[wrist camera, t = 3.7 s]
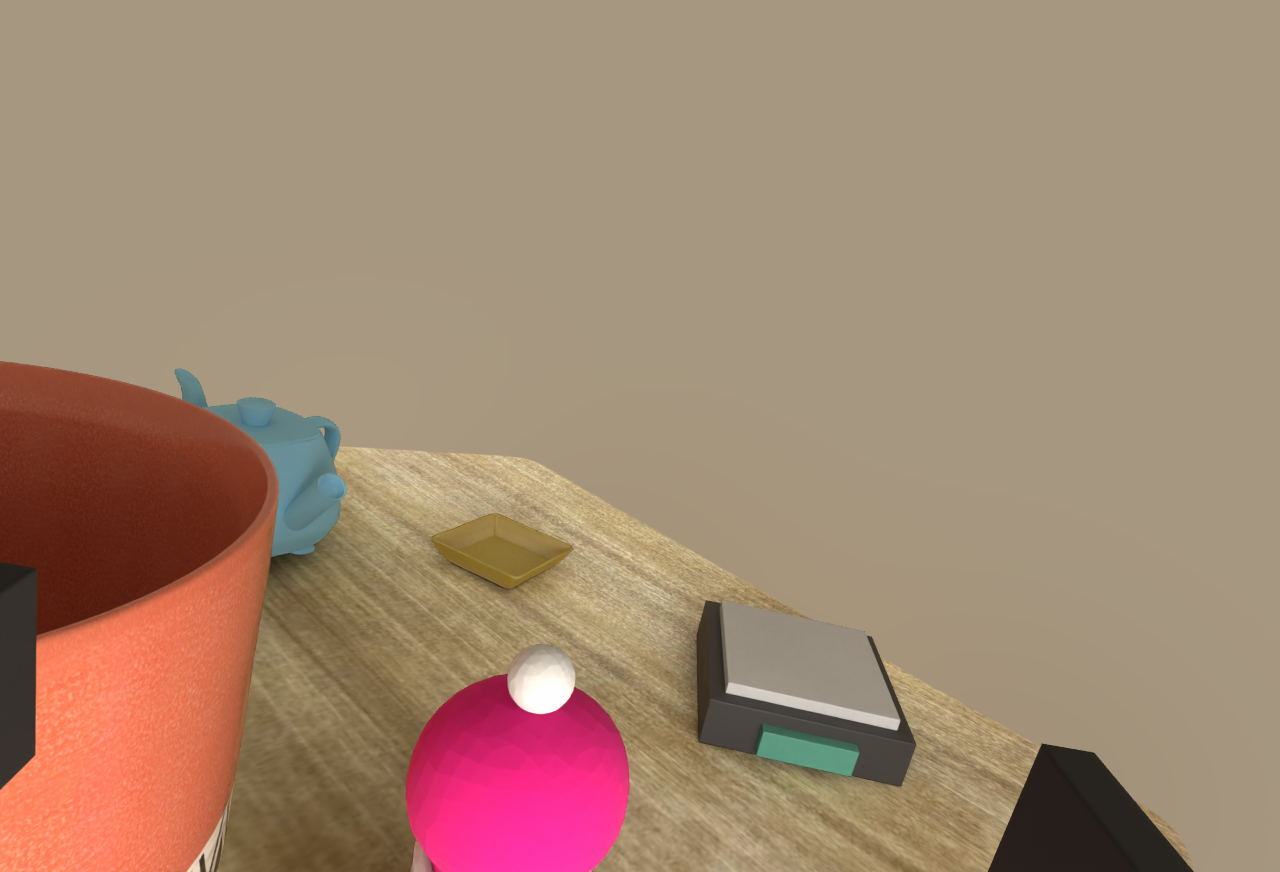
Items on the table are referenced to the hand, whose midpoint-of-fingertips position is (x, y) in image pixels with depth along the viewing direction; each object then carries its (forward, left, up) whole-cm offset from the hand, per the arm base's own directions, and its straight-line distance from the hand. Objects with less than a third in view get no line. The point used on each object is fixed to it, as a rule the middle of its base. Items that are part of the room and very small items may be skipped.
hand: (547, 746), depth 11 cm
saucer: (+53, +8, -25) cm, 59 cm away
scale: (+42, -15, -25) cm, 51 cm away
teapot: (+47, +27, -25) cm, 59 cm away
